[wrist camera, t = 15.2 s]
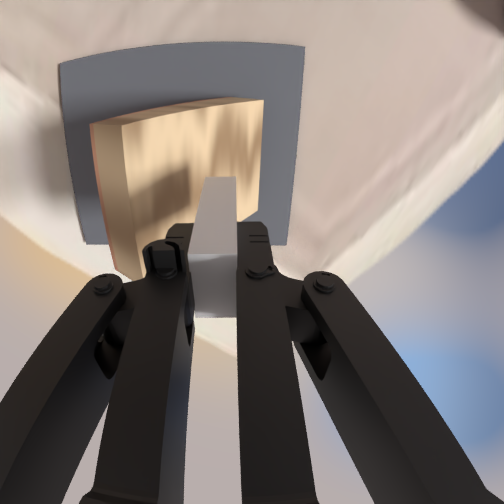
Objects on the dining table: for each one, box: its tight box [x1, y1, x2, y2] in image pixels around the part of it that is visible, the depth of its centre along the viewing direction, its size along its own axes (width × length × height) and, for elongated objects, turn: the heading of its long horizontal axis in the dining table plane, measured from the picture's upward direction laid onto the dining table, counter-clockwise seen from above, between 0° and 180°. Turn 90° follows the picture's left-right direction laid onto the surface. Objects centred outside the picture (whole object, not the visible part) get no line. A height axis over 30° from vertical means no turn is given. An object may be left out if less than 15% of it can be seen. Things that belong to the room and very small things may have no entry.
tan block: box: [89, 97, 264, 281], centre depth 19 cm, size 9×3×12 cm
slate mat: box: [60, 42, 305, 245], centre depth 24 cm, size 18×20×1 cm
